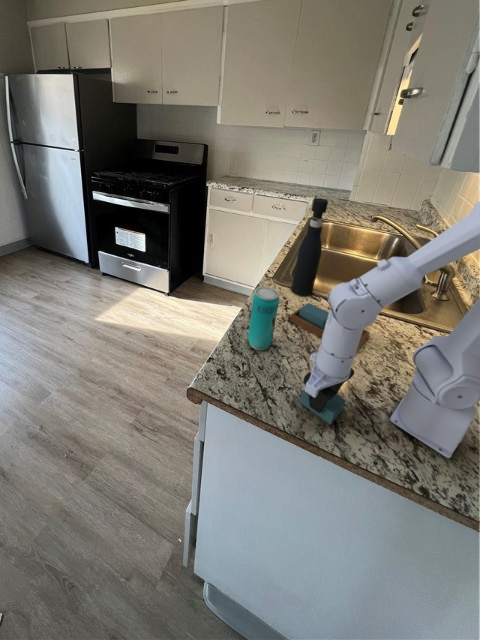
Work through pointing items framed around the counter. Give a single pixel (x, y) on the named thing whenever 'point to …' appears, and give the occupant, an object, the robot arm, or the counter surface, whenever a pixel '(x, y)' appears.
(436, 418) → the robot arm
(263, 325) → the beverage can
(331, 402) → the loose pad
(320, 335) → the back plate
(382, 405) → the counter surface
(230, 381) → the counter surface
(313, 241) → the black water bottle
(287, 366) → the counter surface
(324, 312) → the mounted pad
